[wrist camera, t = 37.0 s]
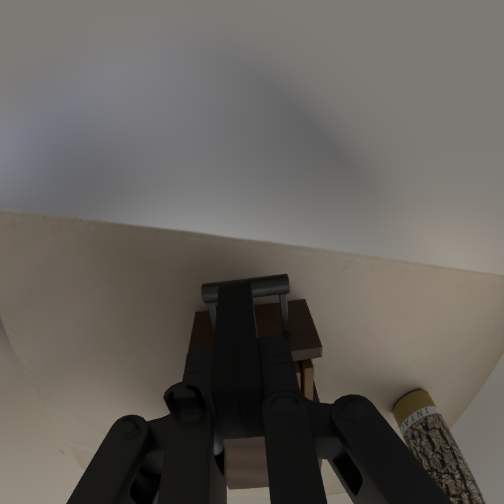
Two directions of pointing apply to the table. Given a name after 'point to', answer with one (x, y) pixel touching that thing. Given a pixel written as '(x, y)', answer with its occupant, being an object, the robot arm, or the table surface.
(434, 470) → the paper tube
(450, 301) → the table surface
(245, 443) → the cabinet
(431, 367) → the table surface
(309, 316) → the drawer
